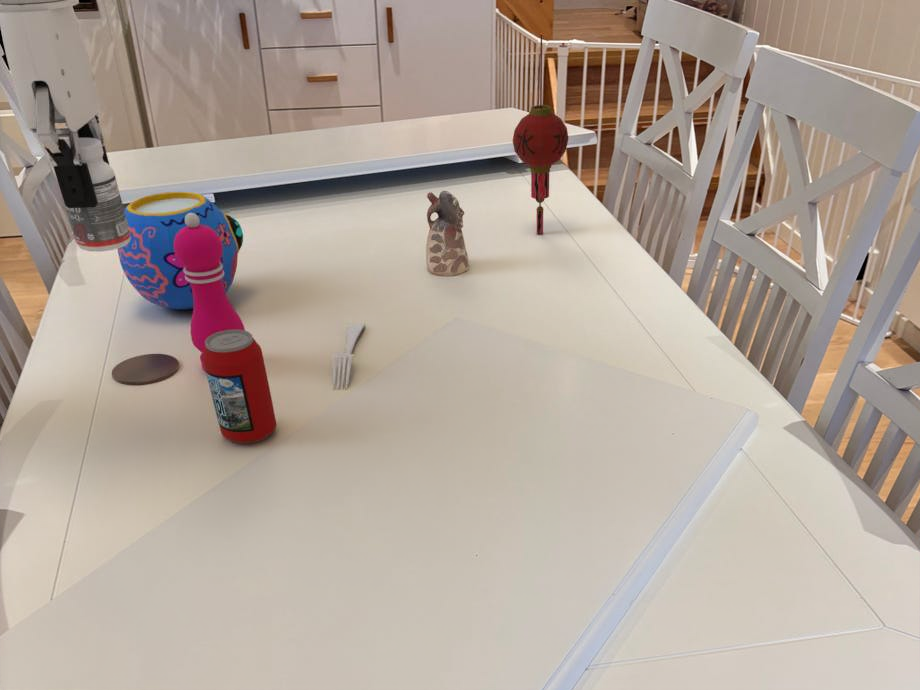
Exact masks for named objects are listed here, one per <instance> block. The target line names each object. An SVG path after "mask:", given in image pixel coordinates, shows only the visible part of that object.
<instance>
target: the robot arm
mask: <svg viewBox="0 0 920 690" xmlns="http://www.w3.org/2000/svg"><path fill="white" fill-rule="evenodd" d="M77 5H80V2H79V0H0V32H1V37H2V42H3V47H4V51H5V56H6V60H7V64H8V68H9V72H10V76H11V79H12V80H11V81H12V83H13V87H14V91H15V95H16V98H17V102H18V105H19V110H20V112H21V117H22V119H23V122H24V126H25V128H26V129H27V130H28V131H29V132H30V133H32V134H36V135H37V138H38V139H39V141H40V142H41V143H42V145H43V146H44V149H45V151H46V152H47V153H48V158H49V162H50V164H51V166H52V167H53V170H54V173H55V177H56V180H57V184H58V187H59V191H60V194H61V193H62V194H61V197H62V200H63V204H64V203H65V204H64V207H65V206H66V207H68V208H89V207H96V206H97V204H98V201H97V197H96V194H95V190H94V187H93V183H92V180H91V176H90V173H89V169H88V165H87V163H82V156H81V150H80V144H79V138H95V139H98V140H100V141H101V145H102V148H103V152H104V154H103V157H102V158H103V161H104V162H106V163H107V164H109V165H110V161H109V157H108V154H107V150H106V146H105V145H104V144H105V141H104V136H103V133H102V131H101V129H100V125H99V123H100V120H99V117H98V116H97V114H99V111H100V108H101V101H100V97H99V92H98V87H97V83H96V80H95V75H94V72H93V68H92V64H91V60H90V57H89V54H88V50H87V48H86V45H85V44H86V43H85V41H84V38H83V34H82V31H81V27H80V24H79V22H78V18H77V16H76V13H75V10H74V6H77ZM56 124H65V127H67V128H65V127H64V128H56ZM64 138H68V139H69V142H70V147H69V146H68V144H67V143H66V141H65V140H66V139H64ZM66 207H65V208H66Z"/></svg>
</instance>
